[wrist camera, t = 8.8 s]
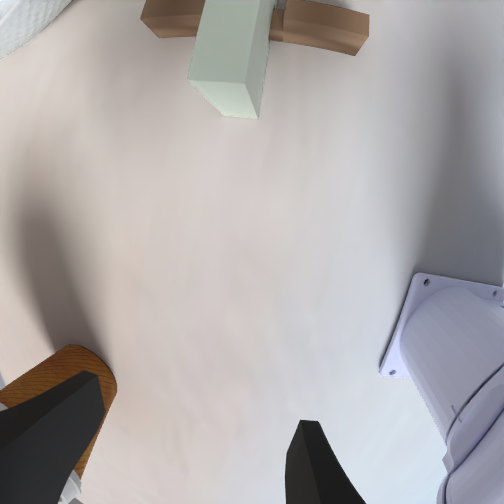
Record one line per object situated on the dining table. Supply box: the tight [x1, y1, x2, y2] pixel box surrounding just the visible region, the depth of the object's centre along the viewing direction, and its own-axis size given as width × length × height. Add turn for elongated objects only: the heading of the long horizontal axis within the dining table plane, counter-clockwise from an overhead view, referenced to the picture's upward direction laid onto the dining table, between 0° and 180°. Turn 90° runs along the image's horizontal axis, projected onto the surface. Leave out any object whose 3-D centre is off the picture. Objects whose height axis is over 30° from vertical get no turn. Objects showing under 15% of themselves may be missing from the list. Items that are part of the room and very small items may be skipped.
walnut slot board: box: [140, 0, 369, 56], centre depth 12 cm, size 12×2×3 cm, turn 82°
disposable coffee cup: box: [0, 345, 117, 504], centre depth 16 cm, size 10×10×12 cm
